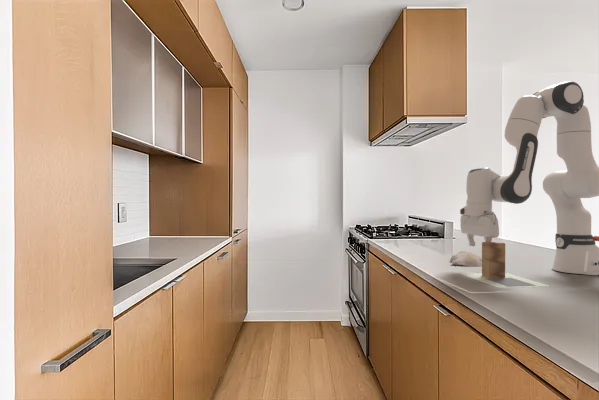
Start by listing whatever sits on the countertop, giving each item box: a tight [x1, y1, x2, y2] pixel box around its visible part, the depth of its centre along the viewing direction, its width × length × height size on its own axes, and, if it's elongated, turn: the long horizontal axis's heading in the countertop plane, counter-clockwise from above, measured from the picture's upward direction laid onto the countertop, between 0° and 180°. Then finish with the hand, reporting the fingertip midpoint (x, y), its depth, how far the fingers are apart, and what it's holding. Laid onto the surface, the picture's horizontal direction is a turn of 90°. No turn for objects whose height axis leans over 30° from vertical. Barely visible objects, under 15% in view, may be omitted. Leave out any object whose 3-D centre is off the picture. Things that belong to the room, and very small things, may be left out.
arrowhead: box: [450, 250, 482, 268], centre depth 184 cm, size 14×5×30 cm
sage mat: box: [458, 272, 550, 289], centre depth 142 cm, size 18×24×1 cm
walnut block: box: [481, 241, 506, 278], centre depth 146 cm, size 6×4×12 cm
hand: (478, 247), depth 155 cm, fingers open, 8 cm apart
